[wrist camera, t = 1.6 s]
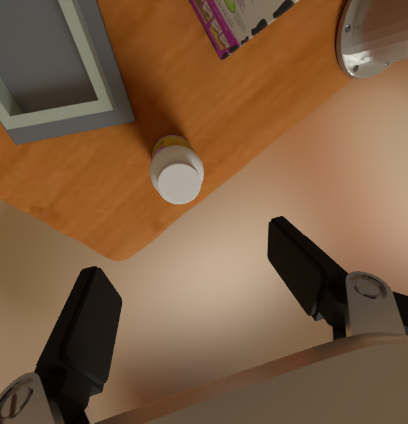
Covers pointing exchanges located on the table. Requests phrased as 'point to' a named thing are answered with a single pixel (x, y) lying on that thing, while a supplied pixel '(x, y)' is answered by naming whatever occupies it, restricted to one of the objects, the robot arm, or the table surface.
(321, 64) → the table surface
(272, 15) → the candy bar box
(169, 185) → the supplement bottle
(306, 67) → the table surface
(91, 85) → the tray
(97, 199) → the table surface
